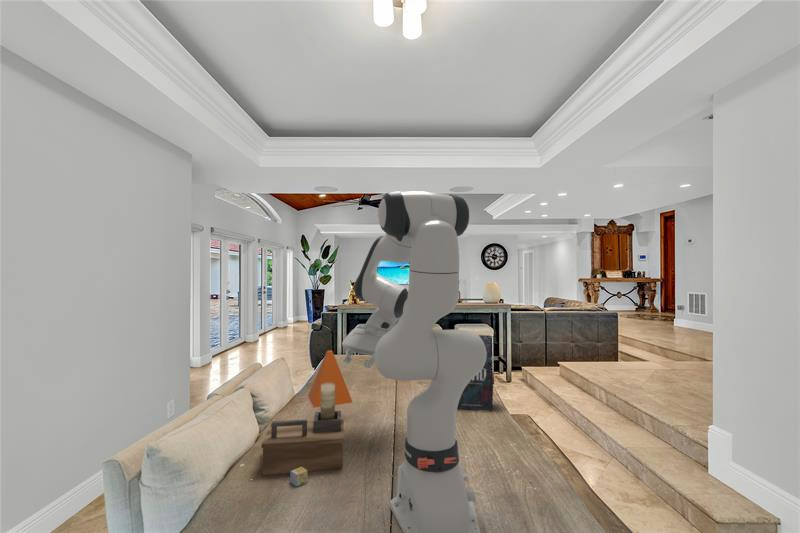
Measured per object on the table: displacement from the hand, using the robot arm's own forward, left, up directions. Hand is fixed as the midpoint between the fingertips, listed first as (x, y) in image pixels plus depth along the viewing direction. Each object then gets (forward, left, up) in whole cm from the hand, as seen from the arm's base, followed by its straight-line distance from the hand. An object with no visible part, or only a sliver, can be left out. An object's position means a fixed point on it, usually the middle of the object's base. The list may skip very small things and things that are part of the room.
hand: (355, 364), depth 116 cm
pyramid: (+42, +9, -24) cm, 50 cm away
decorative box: (+24, -46, -24) cm, 57 cm away
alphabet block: (-20, +15, -24) cm, 35 cm away
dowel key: (-7, +8, -16) cm, 19 cm away
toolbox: (-9, +14, -24) cm, 29 cm away
